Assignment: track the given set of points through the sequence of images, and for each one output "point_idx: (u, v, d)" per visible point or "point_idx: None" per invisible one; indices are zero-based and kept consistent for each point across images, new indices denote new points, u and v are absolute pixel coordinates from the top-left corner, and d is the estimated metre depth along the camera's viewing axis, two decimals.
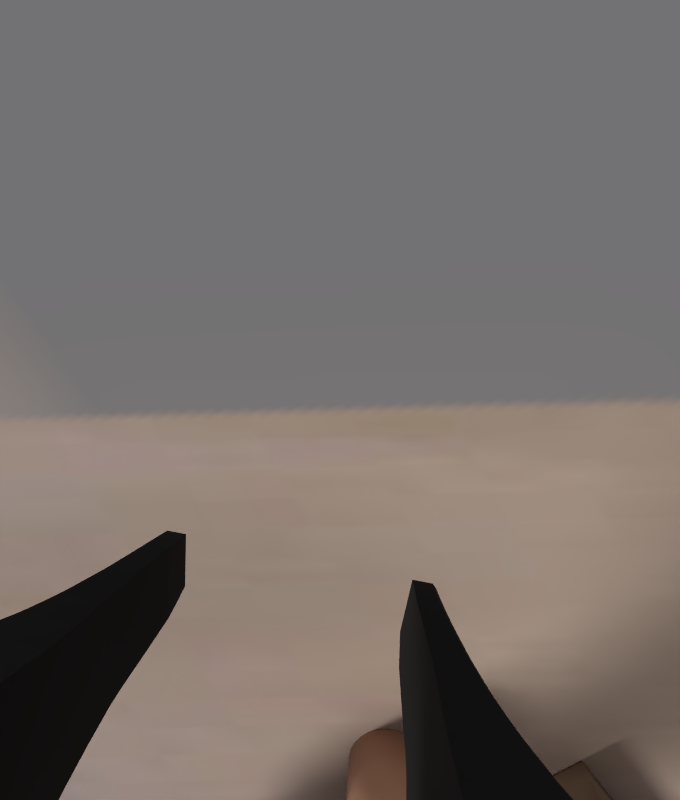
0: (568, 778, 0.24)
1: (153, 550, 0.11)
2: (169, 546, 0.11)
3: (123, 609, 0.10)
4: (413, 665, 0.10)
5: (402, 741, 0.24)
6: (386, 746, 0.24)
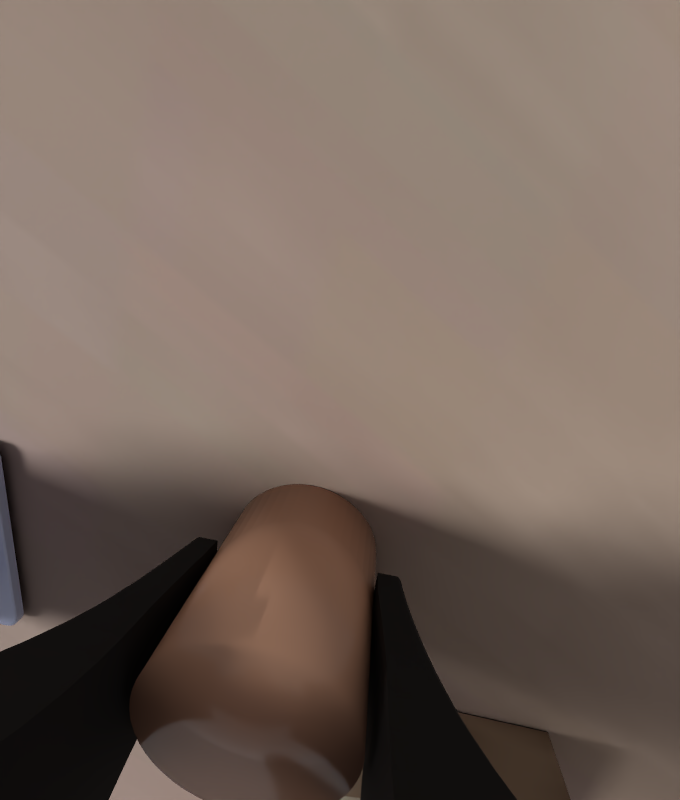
0: (518, 739, 0.15)
1: (188, 557, 0.11)
2: (203, 553, 0.11)
3: (163, 618, 0.10)
4: (373, 656, 0.10)
5: (369, 538, 0.13)
6: (349, 524, 0.12)
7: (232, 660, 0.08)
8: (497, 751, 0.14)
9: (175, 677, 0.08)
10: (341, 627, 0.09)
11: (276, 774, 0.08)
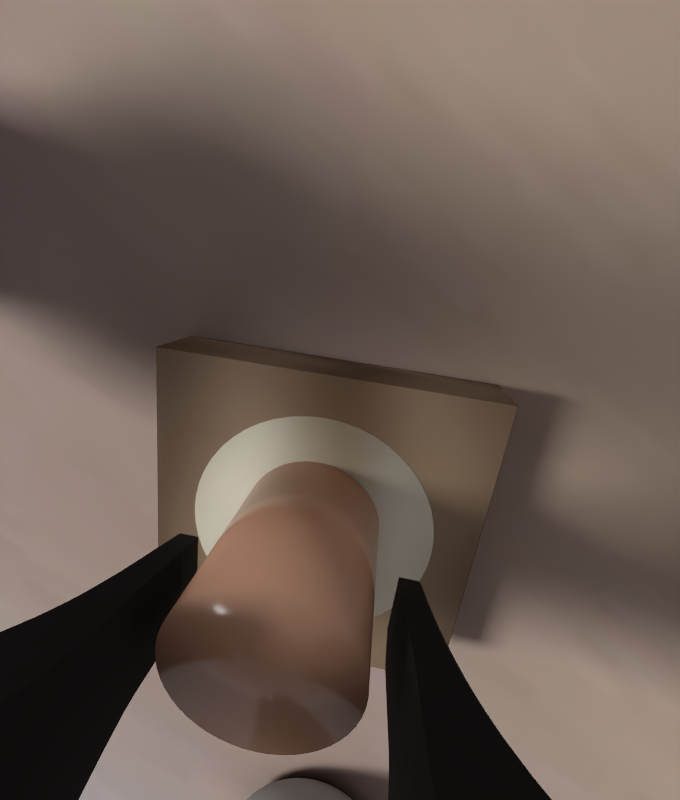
0: (467, 383, 0.15)
1: (167, 553, 0.11)
2: (182, 549, 0.11)
3: (139, 612, 0.10)
4: (397, 661, 0.10)
5: (370, 508, 0.14)
6: (350, 494, 0.13)
7: (245, 603, 0.09)
8: (444, 383, 0.14)
9: (194, 622, 0.09)
10: (344, 577, 0.10)
11: (290, 711, 0.09)
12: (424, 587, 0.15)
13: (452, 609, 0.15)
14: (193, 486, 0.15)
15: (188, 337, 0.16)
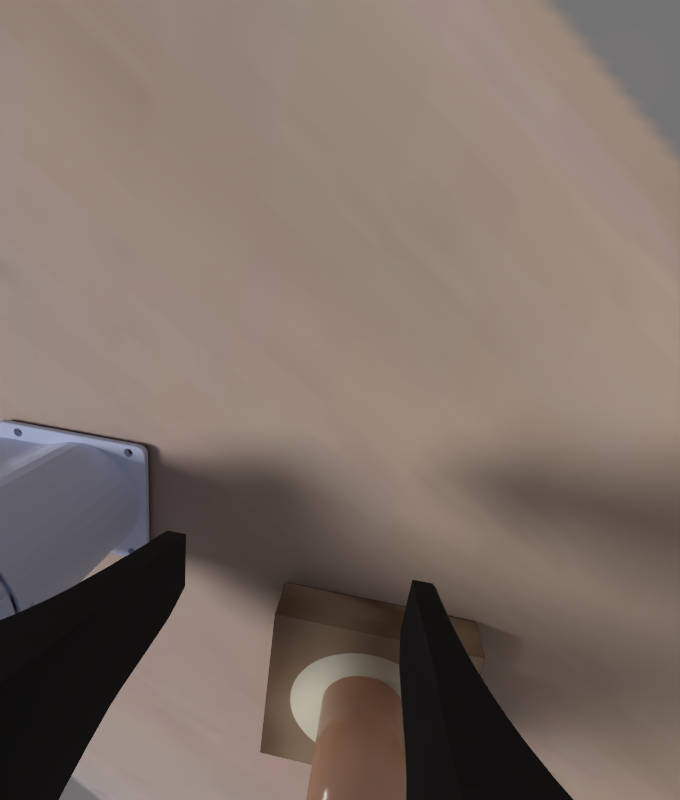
0: (457, 624, 0.24)
1: (153, 550, 0.11)
2: (169, 546, 0.11)
3: (123, 609, 0.10)
4: (413, 665, 0.10)
5: (400, 707, 0.23)
6: (390, 705, 0.23)
7: None
8: None
9: None
10: (394, 783, 0.19)
11: None
12: None
13: None
14: (290, 682, 0.25)
15: (285, 586, 0.25)
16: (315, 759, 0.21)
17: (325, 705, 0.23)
